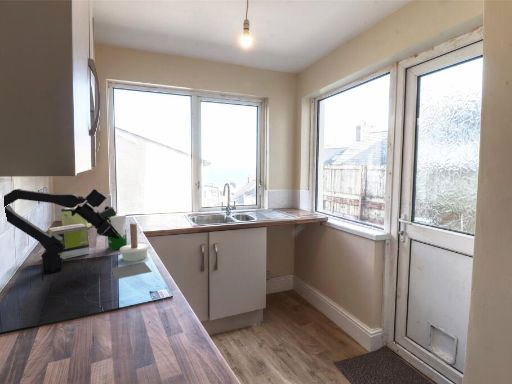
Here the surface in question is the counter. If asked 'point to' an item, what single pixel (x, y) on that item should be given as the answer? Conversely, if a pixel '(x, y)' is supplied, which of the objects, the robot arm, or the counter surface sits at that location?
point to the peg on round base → (134, 242)
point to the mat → (130, 270)
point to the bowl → (134, 256)
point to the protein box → (72, 218)
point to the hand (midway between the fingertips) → (118, 235)
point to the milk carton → (120, 226)
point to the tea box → (73, 240)
